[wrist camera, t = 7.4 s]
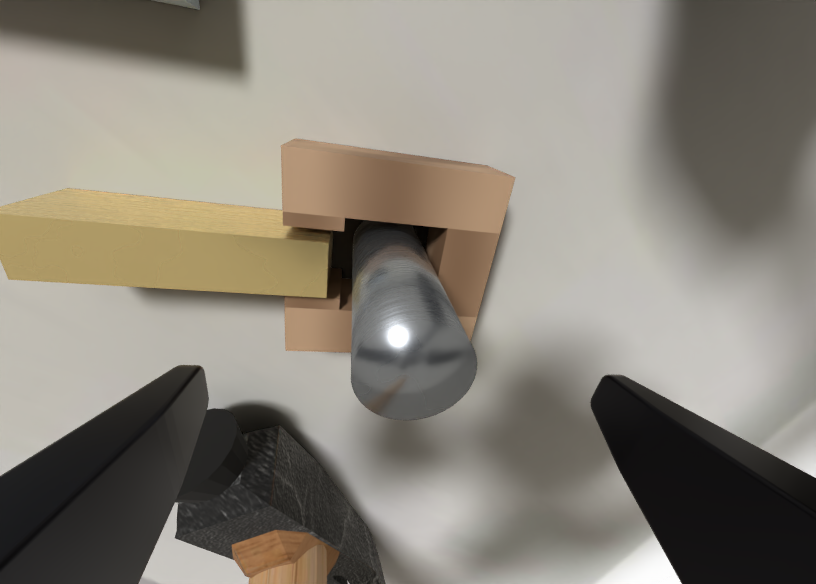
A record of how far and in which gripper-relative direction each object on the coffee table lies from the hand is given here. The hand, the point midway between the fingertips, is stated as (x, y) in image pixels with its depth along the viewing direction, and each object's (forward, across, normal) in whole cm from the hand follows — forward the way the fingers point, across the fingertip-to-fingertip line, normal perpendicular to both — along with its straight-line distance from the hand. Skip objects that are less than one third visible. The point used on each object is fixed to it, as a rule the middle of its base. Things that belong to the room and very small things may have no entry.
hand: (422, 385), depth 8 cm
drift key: (+9, +8, 0) cm, 12 cm away
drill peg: (+10, 0, 0) cm, 10 cm away
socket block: (+9, 0, 0) cm, 9 cm away
